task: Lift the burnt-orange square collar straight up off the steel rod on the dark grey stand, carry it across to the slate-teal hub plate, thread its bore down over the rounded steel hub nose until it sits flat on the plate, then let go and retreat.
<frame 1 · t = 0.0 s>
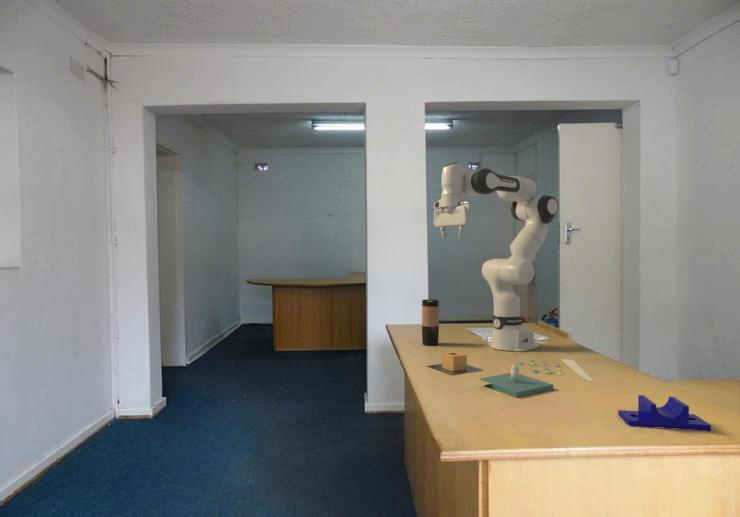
hand: (452, 237, 183), 48 cm above the table, fingers open, 8 cm apart
travel mug: (430, 344, 206), on the table
stand: (454, 372, 159), on the table
hub plate: (514, 386, 143), on the table
collar: (454, 368, 159), point 1 cm above the table, touching stand
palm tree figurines: (538, 369, 166), on the table
mounting bracket: (662, 425, 113), on the table
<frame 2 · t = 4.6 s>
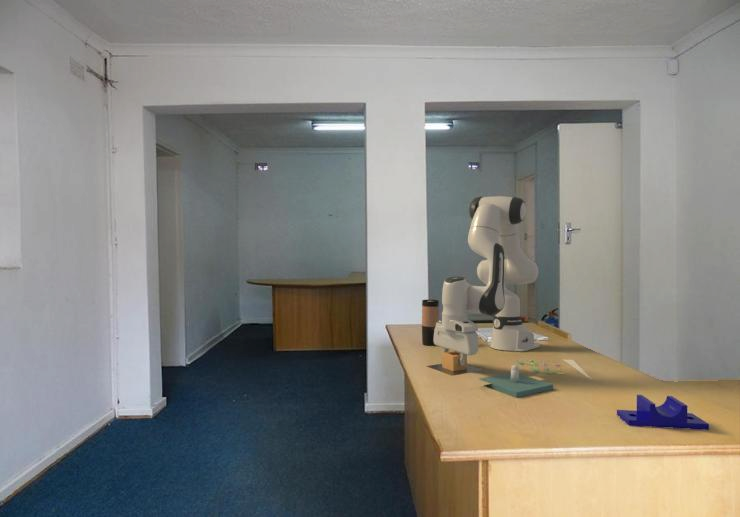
hand: (454, 362, 159), 3 cm above the table, fingers closed on collar, 6 cm apart
collar: (454, 368, 159), point 2 cm above the table, touching gripper, stand
everything else where it was.
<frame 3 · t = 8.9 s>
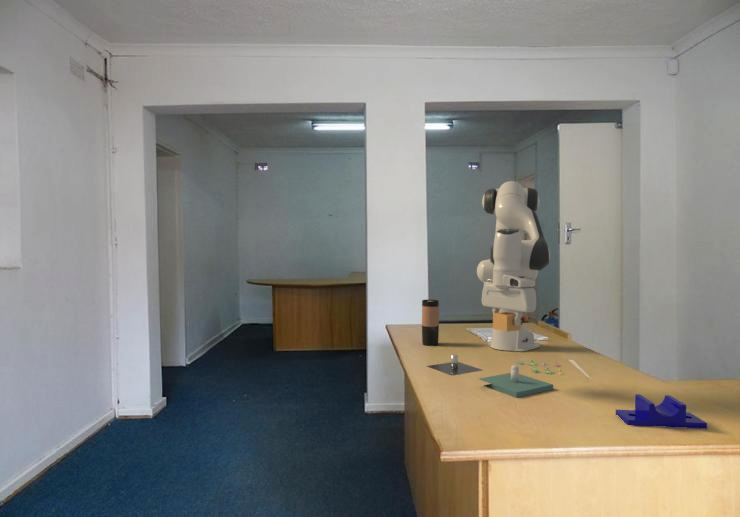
hand: (507, 323, 144), 20 cm above the table, fingers closed on collar, 6 cm apart
collar: (506, 329, 144), point 18 cm above the table, touching gripper
everything else where it was.
when the fingers open (4 cm above the table, at t = 13.6 s): collar stays where it is, resting on hub plate.
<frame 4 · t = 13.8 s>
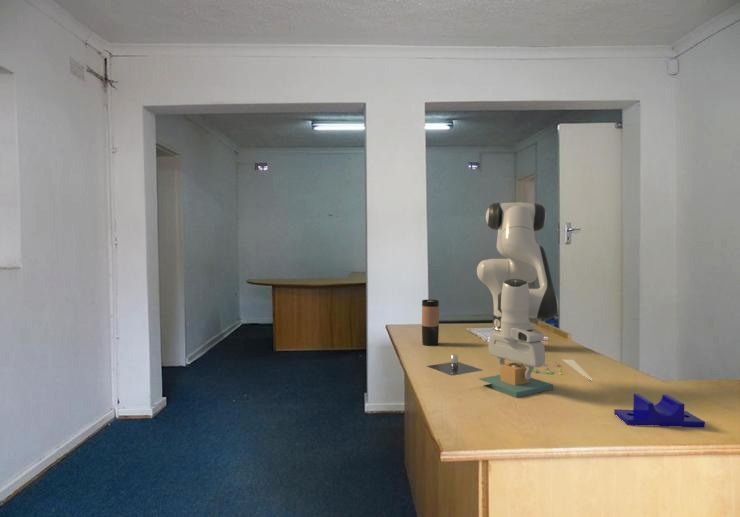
hand: (514, 375, 143), 4 cm above the table, fingers open, 8 cm apart
collar: (514, 381, 143), point 1 cm above the table, touching hub plate
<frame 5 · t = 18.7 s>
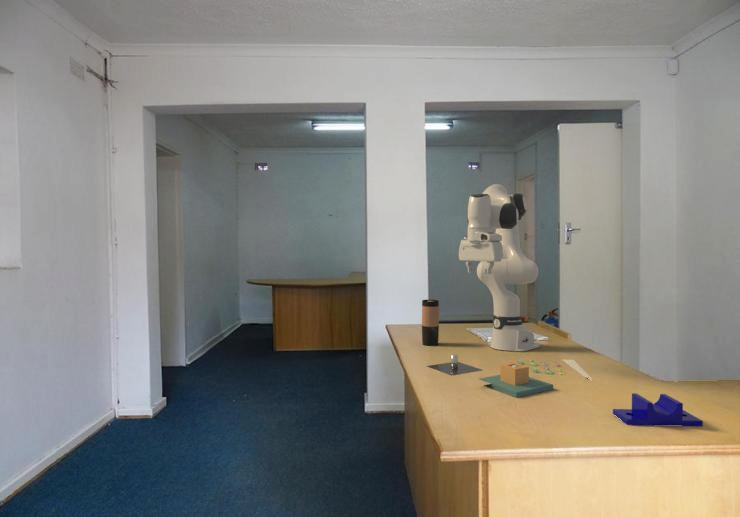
hand: (479, 273, 171), 34 cm above the table, fingers open, 8 cm apart
at the end: collar 0.1 cm off-centre on the hub plate, point 1.5 cm above the hub plate's base; collar tilted 0°; the gripper is holding nothing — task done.
